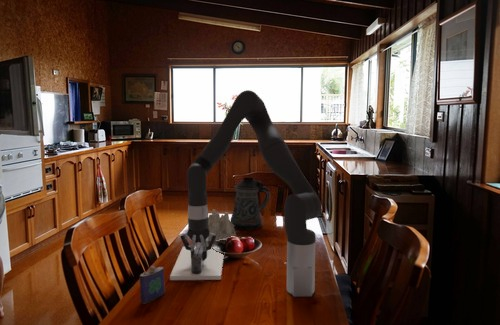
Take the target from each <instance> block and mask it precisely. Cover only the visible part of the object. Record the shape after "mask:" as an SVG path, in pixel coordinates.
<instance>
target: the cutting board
mask: <svg viewBox="0 0 500 325" xmlns="http://www.w3.org/2000/svg"><path fill="white" fill-rule="evenodd" d="M196 246H197V245H195V248H194V250H195V249H196ZM224 258H225V254H224V255H223V254H221V253H219V252H216V251H215V250H213V249H212V248H211V250H207V258H206V259H205V261H204V263H203V267H202V271H201V273H199V274H193V273H192V272H191V251H190V250H186V248H185V246H182V248H181V250H180V253H179V254H178V257H177V259H176V262H175V264H174V265H173V268H172V271H171V273H170V275H169V281H205V280H206V281H207V280H208V281H209V280H211V281H216V280H217V281H218V280H219V281H220V280H221V281H222V276H221V275H222V274H223V268H222V267H223V266H224V260H223V259H224Z"/></svg>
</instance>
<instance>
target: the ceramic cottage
mask: <svg viewBox="0 0 500 325" xmlns="http://www.w3.org/2000/svg"><path fill="white" fill-rule="evenodd" d="M234 226H235V225H234V224H232V222H231V219H230V217H229V212H226V211H225V212H224V214H221V215H220V212H217V211H216V209H213V208H212V212H211V214H208V229H209V231H210V233H213V234H214V233H215V234H216V238H215V240H214V241H216V240H219V239H223V238H227V237H231V236H236V237H237V233H236V232H235V230H236V229H234ZM207 238H208V242H210V241H211V239H210V236H208V237H207Z"/></svg>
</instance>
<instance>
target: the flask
mask: <svg viewBox="0 0 500 325" xmlns="http://www.w3.org/2000/svg"><path fill="white" fill-rule="evenodd" d="M139 290H140V304H142V305H145V304H149V303H151V302H154V301H155V300H157V299H159V298H161V297H163V296H164V295H165V294H166V293H165V292H166V288H165V267H163V266H158V267H157V266H154V265H150V269H149V270H148V271H146V272H144V271H143V273H140V275H139Z"/></svg>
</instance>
